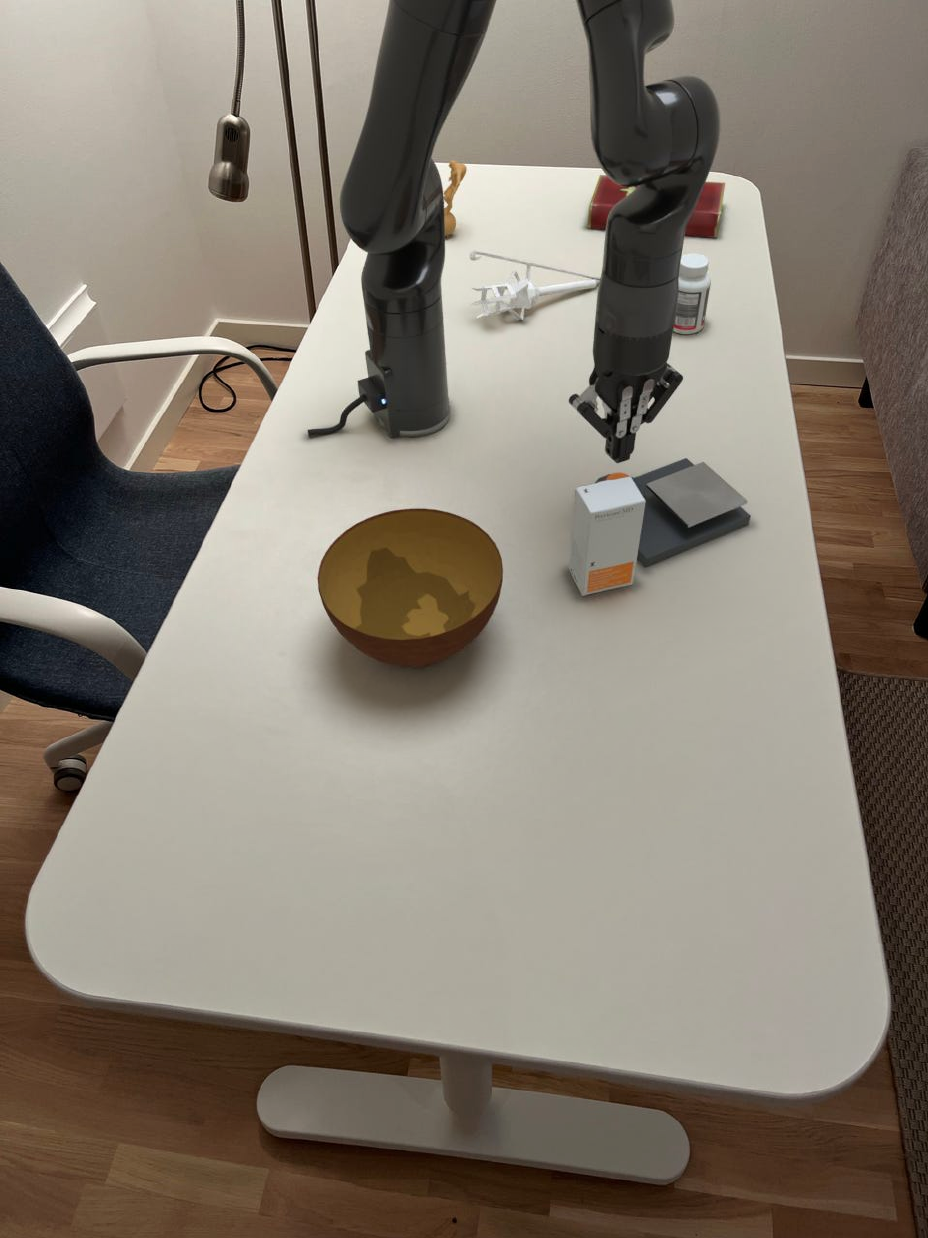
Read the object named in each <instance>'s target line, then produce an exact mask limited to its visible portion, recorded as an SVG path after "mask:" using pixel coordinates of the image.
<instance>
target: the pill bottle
mask: <svg viewBox="0 0 928 1238" xmlns="http://www.w3.org/2000/svg"><path fill="white" fill-rule="evenodd" d="M709 262H710V261H709V259H708V258H707V256H705V255H703V254H699V253H688V254H684V255H682V256H681V262H680V269H679V293H678V301H677V308H676V315H675V321H674V328H673V333H677V334H681V335H692V334H696V333H698V332H700V331H701V330H702V329H703V328H704V327H705V321H706V315H707V310H708V309H707V308H708V304H709V303H708V302H709V296H710V290H711V285H712V279H711V276H710V275H709V273H708V270H709V264H710V263H709Z"/></svg>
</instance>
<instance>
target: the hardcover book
mask: <svg viewBox="0 0 928 1238" xmlns="http://www.w3.org/2000/svg"><path fill="white" fill-rule="evenodd" d="M637 187H638V186H635V187H623V186H620V185H618V184H616V183H614V182H613V181H612V180H611V179H610V178H609V177H608V176H607V175H606V174H599V176H598V180H597V182H596V186H595V188H594V191H593V193H592V196H591V200H590V202H589V204H588V218H587V229H590V230H591V229H592V230H604V231H606V224H607V219H608V215H609V213H610V211H611V210H612V208H613V207H614V206H615V205H616V204H617V203H618V202H619V201H621V200H622V199H623V198H625V197H626V196H628V195H629V194H630V193H632V192H633V191H634V190H635V189H636V188H637ZM725 190H726V182H722V181H721V182H718V181H706V182H705V184H704V187H703V189H702V192H701V194H700V197H699V199H698V202H697V204H696V207H695V209H694V211H693V213H692V215H691V217H690V219H689V222H688V224H687V226H686V229H685V236H684V237H699V238H713V239H718V235H719V234H718V233H719V230H720V229H719V228H720V223H721V216H722V209H723V203H724V198H725V197H724V195H725Z"/></svg>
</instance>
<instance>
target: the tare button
mask: <svg viewBox="0 0 928 1238" xmlns="http://www.w3.org/2000/svg"><path fill="white" fill-rule="evenodd" d="M609 474H610V475H609V476H608V477H607V479H606V480H615V479H620V478H625V477H629V476H630V475H629V474H627V473H625V472H612V473H609Z"/></svg>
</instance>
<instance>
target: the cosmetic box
mask: <svg viewBox="0 0 928 1238" xmlns="http://www.w3.org/2000/svg"><path fill="white" fill-rule="evenodd" d="M630 476H631V475H629V477H625V478H620V479H615V480H606V481H601V482H598V483H595V482H594V483H595V484H594V483H591V484H587V485H583V486H577V487H575V489H574V502H573V512H572V513H573V514H572V526H571V538H570V539H571V542H570V555H569V568H568V571H569V573H570V575H571V577H572V579H573V581H574V583H575V585H576V586H577V589H578V591H579V593H580V595H581V596H582V597H584V596H589V595H592V594H597V593H601V592H605V591H610V590H613V589H614V590H615V589H618V588H623V587H629V586H632V585H634V580H635V573H636V567H637V561H638V559H637V555H638V548H639V542H640V535H641V529H642V522H643V516H644V509H645V503H646V501H645V499H644V498H643V496H642V494H641V493H640V491H639V489H638V488H637V486H636V484H635V483H634V481H633V479H632V478H631V477H632V476H631V477H630Z"/></svg>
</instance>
